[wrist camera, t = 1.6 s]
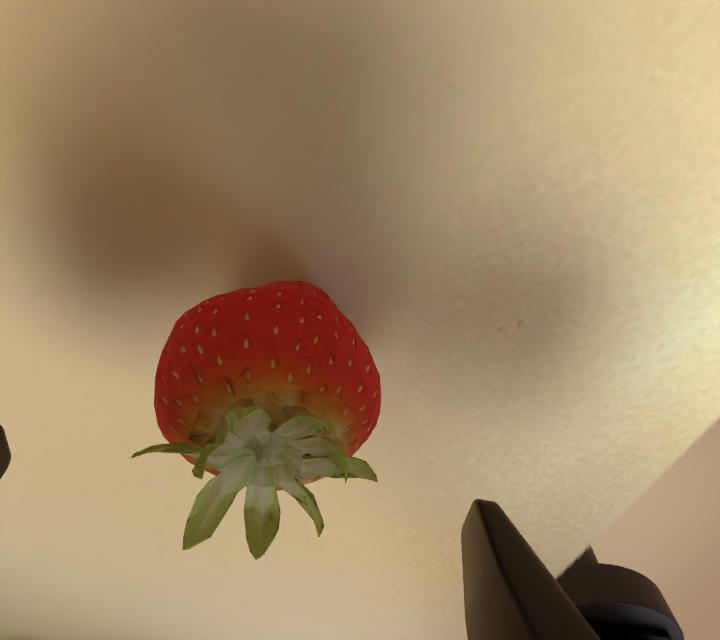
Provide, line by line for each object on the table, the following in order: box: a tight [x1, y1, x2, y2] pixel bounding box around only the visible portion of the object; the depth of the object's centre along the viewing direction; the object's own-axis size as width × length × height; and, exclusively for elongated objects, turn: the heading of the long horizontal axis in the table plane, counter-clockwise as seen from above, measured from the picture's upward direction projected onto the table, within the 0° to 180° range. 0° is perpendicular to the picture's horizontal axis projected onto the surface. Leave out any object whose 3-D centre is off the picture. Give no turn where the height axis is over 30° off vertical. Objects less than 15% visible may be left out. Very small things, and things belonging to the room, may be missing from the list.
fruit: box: [131, 281, 381, 559], centre depth 11 cm, size 5×5×8 cm
